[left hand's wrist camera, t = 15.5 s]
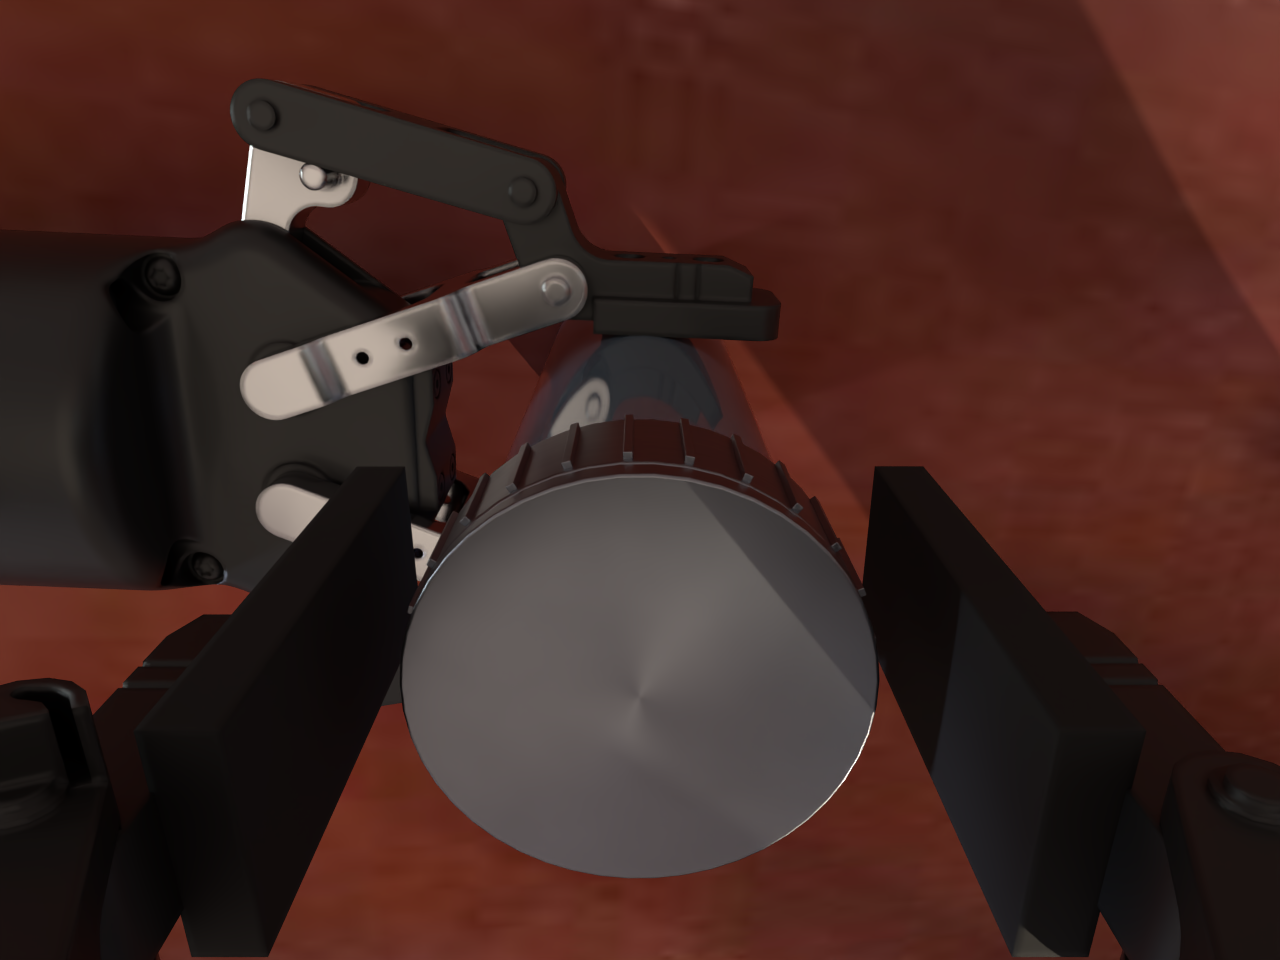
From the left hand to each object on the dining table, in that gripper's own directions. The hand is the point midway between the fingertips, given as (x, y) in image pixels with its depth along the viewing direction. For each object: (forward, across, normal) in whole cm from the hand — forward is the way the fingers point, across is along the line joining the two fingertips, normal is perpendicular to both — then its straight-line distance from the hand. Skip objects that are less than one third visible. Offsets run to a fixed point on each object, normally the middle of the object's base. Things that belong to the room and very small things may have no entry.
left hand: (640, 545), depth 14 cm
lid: (-4, 0, 0) cm, 4 cm away
